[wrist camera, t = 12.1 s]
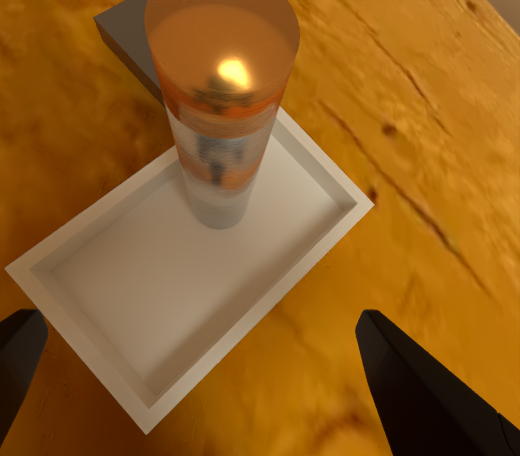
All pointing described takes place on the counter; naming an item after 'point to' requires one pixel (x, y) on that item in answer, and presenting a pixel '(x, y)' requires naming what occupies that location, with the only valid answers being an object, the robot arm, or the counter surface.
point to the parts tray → (184, 269)
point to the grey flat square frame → (130, 41)
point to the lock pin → (221, 92)
